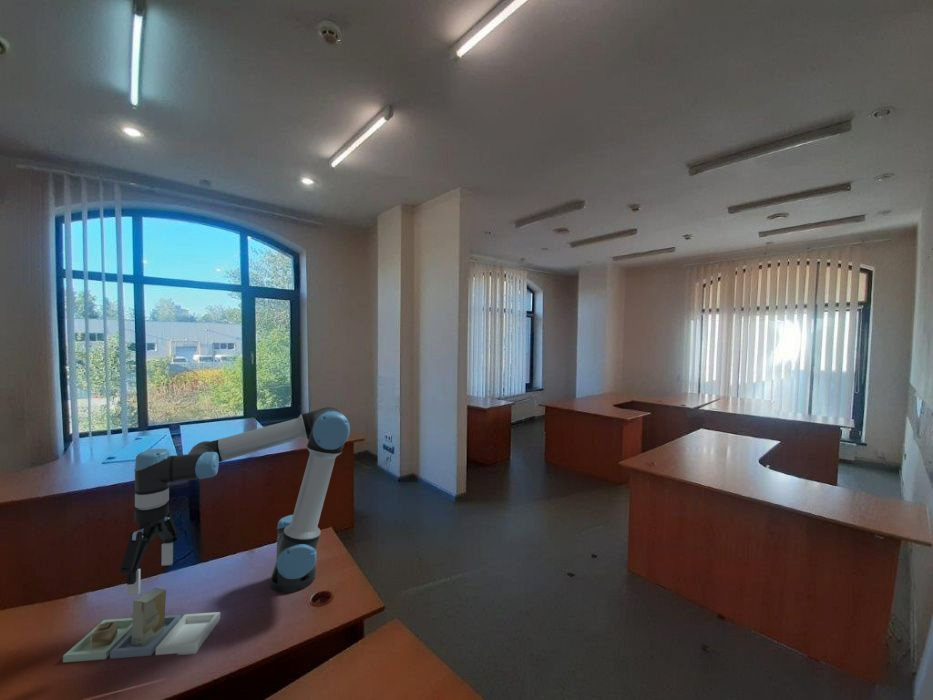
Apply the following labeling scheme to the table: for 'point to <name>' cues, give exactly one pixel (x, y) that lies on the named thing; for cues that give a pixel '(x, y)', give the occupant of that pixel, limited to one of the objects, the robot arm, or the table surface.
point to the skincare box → (148, 616)
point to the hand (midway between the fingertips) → (151, 578)
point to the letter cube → (104, 634)
